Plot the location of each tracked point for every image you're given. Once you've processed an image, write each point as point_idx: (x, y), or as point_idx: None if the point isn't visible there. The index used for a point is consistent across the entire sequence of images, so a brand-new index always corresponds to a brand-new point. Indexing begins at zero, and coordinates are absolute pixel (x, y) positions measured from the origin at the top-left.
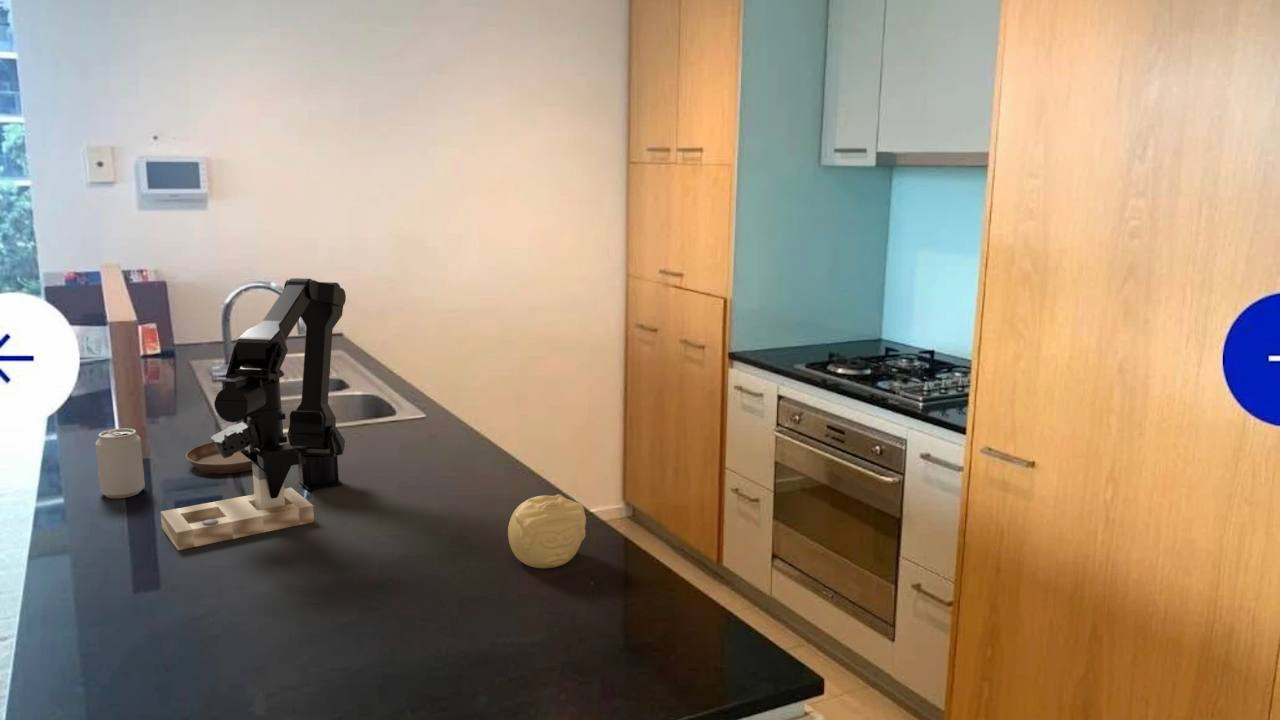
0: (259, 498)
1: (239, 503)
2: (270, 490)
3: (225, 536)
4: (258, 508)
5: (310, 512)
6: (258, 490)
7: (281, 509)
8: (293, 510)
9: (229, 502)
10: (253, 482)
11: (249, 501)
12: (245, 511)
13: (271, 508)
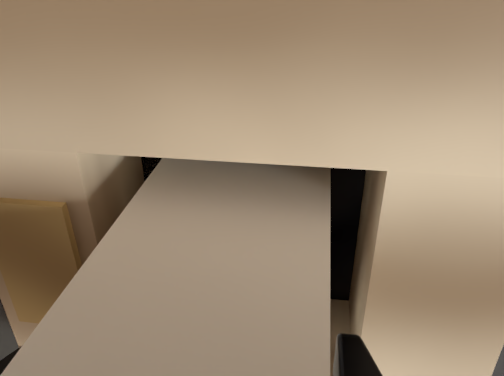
0: (142, 241)
1: (369, 88)
2: (6, 362)
3: None
4: (233, 186)
5: None
6: (123, 297)
7: (3, 276)
8: (13, 317)
9: (482, 6)
10: (322, 356)
11: (385, 181)
12: (90, 61)
13: (52, 239)
